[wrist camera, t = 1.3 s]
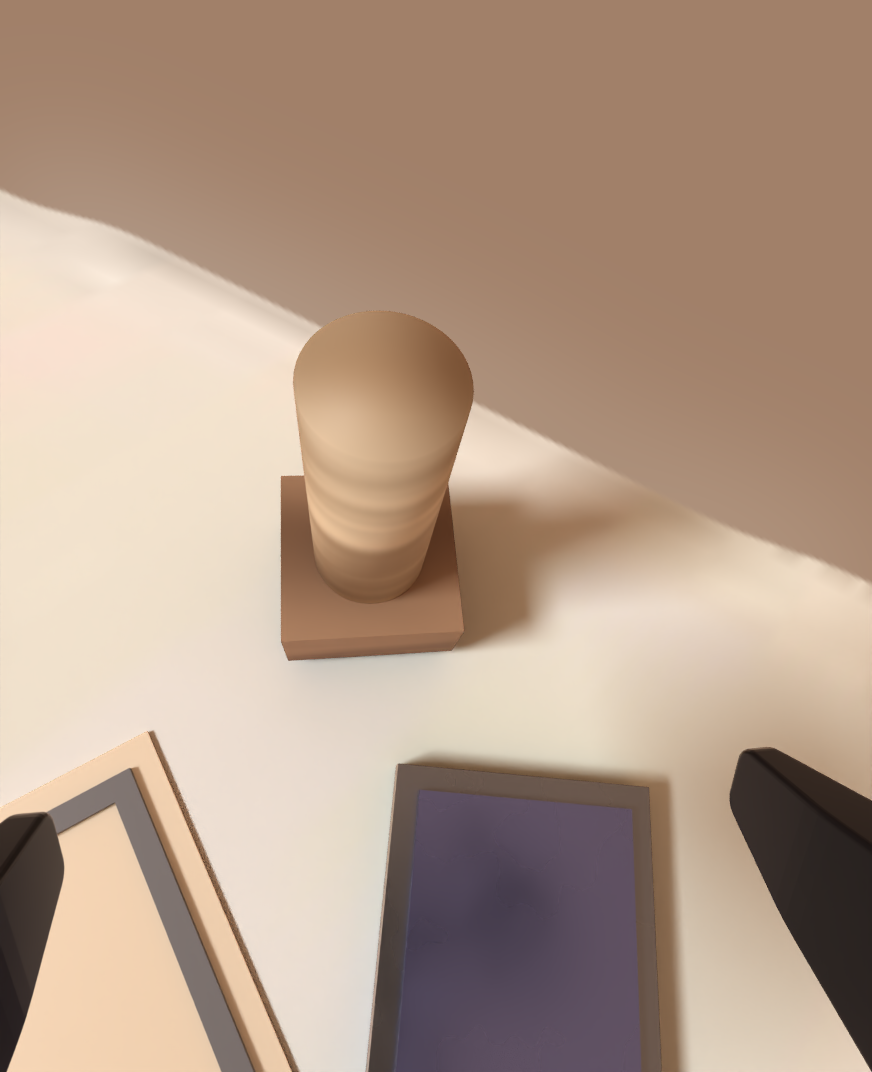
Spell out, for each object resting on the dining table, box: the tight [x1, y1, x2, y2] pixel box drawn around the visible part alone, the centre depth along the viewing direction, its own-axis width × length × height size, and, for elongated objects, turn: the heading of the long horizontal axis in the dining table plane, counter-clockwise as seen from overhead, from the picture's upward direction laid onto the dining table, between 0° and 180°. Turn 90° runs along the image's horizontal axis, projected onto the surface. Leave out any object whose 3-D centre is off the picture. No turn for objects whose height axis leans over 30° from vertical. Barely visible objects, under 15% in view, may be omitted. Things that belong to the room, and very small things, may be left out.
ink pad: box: [366, 764, 662, 1072], centre depth 19 cm, size 10×8×1 cm
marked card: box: [0, 731, 292, 1072], centre depth 17 cm, size 12×12×1 cm
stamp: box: [281, 311, 474, 661], centre depth 18 cm, size 5×5×12 cm
